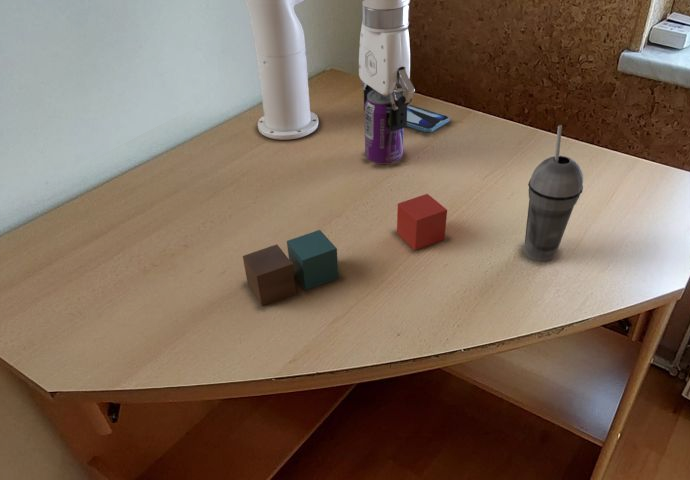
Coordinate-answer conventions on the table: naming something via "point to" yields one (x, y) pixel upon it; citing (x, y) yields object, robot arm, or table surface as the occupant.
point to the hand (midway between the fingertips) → (384, 119)
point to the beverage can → (381, 130)
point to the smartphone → (424, 119)
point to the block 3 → (421, 221)
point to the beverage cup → (551, 203)
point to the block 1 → (269, 274)
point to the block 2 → (313, 259)
